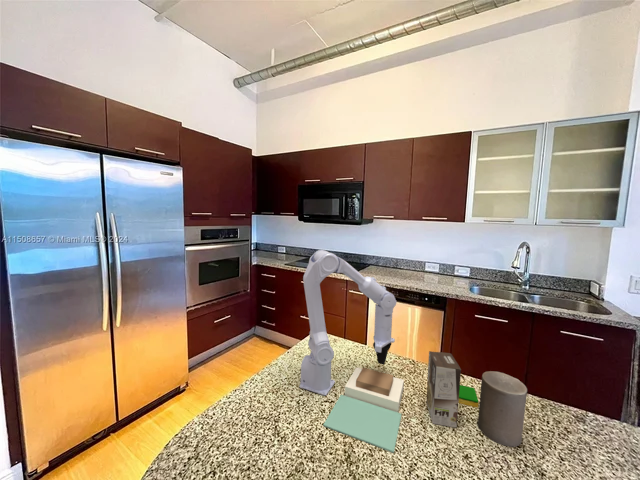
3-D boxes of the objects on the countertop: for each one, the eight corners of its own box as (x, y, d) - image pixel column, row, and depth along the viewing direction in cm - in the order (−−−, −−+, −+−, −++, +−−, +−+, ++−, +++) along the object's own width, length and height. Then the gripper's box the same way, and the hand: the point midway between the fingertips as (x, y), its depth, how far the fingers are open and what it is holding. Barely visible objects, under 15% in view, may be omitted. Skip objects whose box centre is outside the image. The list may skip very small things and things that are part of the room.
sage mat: (323, 426, 69) (323, 424, 69) (341, 395, 81) (341, 394, 81) (393, 452, 62) (393, 451, 61) (401, 415, 74) (401, 413, 74)
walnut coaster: (355, 386, 81) (356, 380, 81) (362, 373, 88) (362, 367, 88) (388, 396, 77) (389, 389, 77) (393, 381, 84) (393, 375, 84)
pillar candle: (469, 423, 71) (473, 370, 70) (492, 413, 75) (496, 363, 74) (507, 453, 63) (513, 393, 61) (531, 439, 67) (537, 383, 65)
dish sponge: (427, 384, 89) (427, 377, 89) (473, 395, 84) (474, 387, 84) (427, 396, 83) (428, 389, 82) (478, 409, 78) (478, 401, 77)
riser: (344, 395, 81) (344, 386, 81) (355, 375, 92) (356, 367, 92) (398, 412, 75) (398, 402, 74) (403, 388, 86) (403, 379, 85)
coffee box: (458, 428, 70) (462, 369, 68) (432, 424, 71) (435, 366, 70) (448, 405, 78) (451, 352, 77) (425, 401, 80) (428, 349, 79)
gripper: (391, 335, 82) (389, 377, 83) (398, 320, 95) (396, 356, 96) (369, 331, 85) (367, 371, 86) (378, 316, 98) (377, 351, 99)
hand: (381, 363), depth 91 cm, fingers closed
